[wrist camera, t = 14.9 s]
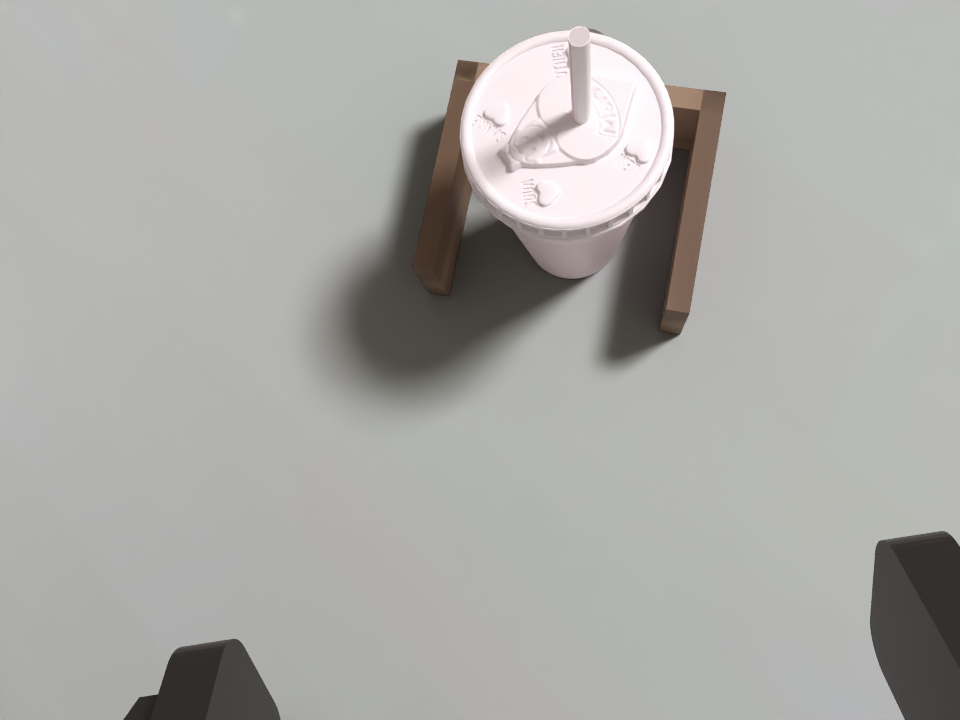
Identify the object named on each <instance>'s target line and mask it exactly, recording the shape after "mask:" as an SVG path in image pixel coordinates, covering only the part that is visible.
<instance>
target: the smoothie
mask: <svg viewBox="0 0 960 720" xmlns="http://www.w3.org/2000/svg"><path fill="white" fill-rule="evenodd" d="M673 139H674V116H673V109H672V105H671V100H670V98H669V95H668V92H667V90H666V88H665V85H664V83H663V82H662V80H661V78H660V77H659V75H658V73H657V72H656V71H655V70H654V68H653V67H652V66H651V65H650V64H649V63H648V62H647V61H646V59H644V58H643V57H642V56H641V55H640V54H639V53H637V52H636V51H635V50H633V49H632V48H630V47H629V46H627V45H625V44H623V43H622V42H620V41H617V40H615V39H613V38H610V37H607V36H604V35H601V34H596V33H592V32H590V31H589V30H588V29H587V28H585V27H582V26H578V27H575V28H573V29H572V30H571V31H558V32H551V33H546V34H542V35H539V36H535V37H532V38H530V39H527V40H525V41H522V42H520V43H519V44H517V45H515V46H513V47H511V48H510V49H508V50H507V51H505V52H504V53H502V54H501V55H500V56H499V57H497V58H496V59H495V60H494V61H493V62H492V63H491V64H490V65H489V66H488V67H487V68H486V69H485V70H484V71H483V72H482V74H481V75H480V77H479V78H478V79H477V81H476V82H475V84H474V86H473V87H472V89H471V91H470V93H469V95H468V98H467V100H466V103H465V106H464V109H463V113H462V118H461V125H460V144H461V151H462V156H463V163H464V170H465V173H466V175H467V177H468V180H469V182H470V184H471V187H472V189H473V191H474V194H475V195H476V196H477V197H478V199H479V200H480V201H481V202H482V204H483V205H484V206H485V207H486V208H487V210H488V211H489V212H490V213H491V214H492V215H493V216H495V217H496V218H497V219H499V220H500V221H502V222H503V223H504V224H506V225H507V226H509V227H510V228H512V229H513V230H514V232H515V233H516V235H517V236H518V237H519V239H520V240H521V242H522V243H523V244H524V246H525V247H526V249H527V250H528V251H529V253H530V254H531V256H532V257H533V258H534V260H535V261H536V262H537V264H538V265H539V266H540V267H541V268H543V269H544V270H545V271H547V272H548V273H550V274H552V275H555V276H557V277H561V278H567V279H577V278H583V277H587V276H590V275H592V274H594V273H596V272H598V271H599V270H601V269H602V268H603V267H605V266H606V265H607V264H608V262H609V261H610V260H611V259H612V257H613V255H614V254H615V252H616V250H617V248H618V246H619V244H620V242H621V240H622V238H623V236H624V234H625V233H626V231H627V229H628V227H629V225H630V223H631V221H632V219H633V217H634V216H635V215H636V214H638V213H639V212H640V211H642V210H643V209H644V208H645V207H646V205H647V204H648V203H649V201H650V200H651V199H652V197H653V196H654V195H655V194H656V192H657V191H658V190H659V188H660V187H661V185H662V182H663V180H664V178H665V175H666V173H667V170H668V168H669V165H670V163H671V157H672V148H673Z"/></svg>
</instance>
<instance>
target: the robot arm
mask: <svg viewBox="0 0 960 720" xmlns="http://www.w3.org/2000/svg"><path fill="white" fill-rule="evenodd" d="M870 628H871V635H872V641H873V645H874V649H875V653H876V656H877V659H878V662H879V665H880V667H881V670H882V672H883V674H884V677H885V679H886V681H887V683H888V685H889V687H890V689H891V691H892V693H893V696H894V698H895V700H896V702H897V704H898V706H899V708H900V710H901V712H902V714H903V717H904V719H905V720H960V546H959V545H958V543H957V542H956V541H955V539H954V538H953V537H952V536H951V535H950V534H948V533H947V532H945V531H939V532H933V533H926V534H920V535H913V536H907V537H901V538H894V539H888V540H881V541H879V542H878V543H877V546H876V551H875V563H874V575H873V588H872V601H871V614H870ZM124 720H280V716H279V712H278V709H277V706H276V704H275V702H274V700H273V699H272V697H271V695H270V693H269V691H268V690H267V688H266V686H265V684H264V682H263V680H262V679H261V677H260V675H259V673H258V671H257V669H256V668H255V666H254V664H253V662H252V660H251V658H250V657H249V655H248V653H247V651H246V649H245V647H244V646H243V644H242V643H241V642H240V641H239V640H237V639H230V640H223V641H217V642H211V643H204V644H198V645H191V646H185V647H180V648H178V649H176V650H175V651H174V653H173V654H172V656H171V657H170V660H169V662H168V665H167V668H166V671H165V674H164V678H163V681H162V684H161V687H160V690H159V694H158V695H152V696H145V697H139V699H138V700H137V702H136V703H135V704H134V706H133V707H132V708H131V710H130V711H129V713H128V714H127V715H126V717H125V718H124Z"/></svg>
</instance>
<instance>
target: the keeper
mask: <svg viewBox="0 0 960 720" xmlns="http://www.w3.org/2000/svg"><path fill="white" fill-rule="evenodd" d="M588 30H589V31H590V32H592V33H596V34H601V35H603V34H602V33H601V32H599V31H597V30H594V29H588ZM489 65H490V64H487V63H479V62H471V61H462V60H458V63H457V67H456V72H455V76H454V81H453V85H452V90H451V95H450V99H449V104H448V108H447V113H446V117H445V122H444V126H443V131H442V135H441V140H440V144H439V149H438V154H437V158H436V163H435V167H434V172H433V176H432V181H431V185H430V190H429V194H428V199H427V203H426V208H425V213H424V217H423V222H422V226H421V231H420V235H419V240H418V244H417V249H416V253H415V258H414V262H413V267H412V268H413V270H414V271H415V273H416V274H417V275H418V277H419V278H420V280H421V281H422V283H423V284H424V285H425V287H426V288H427V290H428V291H429V292H430V293H433V294H439V295H445V296H449V294H450V289H451V285H452V280H453V275H454V271H455V266H456V261H457V256H458V252H459V247H460V242H461V238H462V233H463V228H464V223H465V219H466V214H467V209H468V205H469V200H470V195H471V190H472V187H471V184H470V182H469V180H468V177H467V175H466V173H465V170H464V163H463V156H462V151H461V144H460V125H461V118H462V113H463V109H464V106H465V103H466V100H467V98H468V95H469V93H470V91H471V89H472V87H473V86H474V84H475V82H476V81H477V79H478V78H479V77H480V75H481V74H482V72H483V71H484V70H485V69H486V68H487V67H488V66H489ZM665 88H666V90H667V92H668V95H669V98H670V100H671V105H672V109H673V116H674V139H673V148H675V149H682V150H690V154H689V160H688V166H687V172H686V177H685V183H684V189H683V195H682V201H681V206H680V212H679V218H678V224H677V230H676V235H675V241H674V247H673V253H672V259H671V265H670V270H669V276H668V282H667V288H666V294H665V299H664V305H663V311H662V317H661V323H660V329H659V331H662V332H668V333H674V334H680V333H681V331H682V329H683V326H684V324H685V322H686V320H687V317H688V315H689V312H690V306H691V300H692V294H693V288H694V282H695V276H696V270H697V264H698V258H699V252H700V246H701V240H702V234H703V228H704V222H705V216H706V210H707V204H708V198H709V192H710V186H711V180H712V174H713V168H714V162H715V156H716V150H717V144H718V138H719V132H720V126H721V120H722V114H723V108H724V102H725V96H726V92H718V91H709V90H701V89H693V88H685V87H676V86H668V85H665Z"/></svg>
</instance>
